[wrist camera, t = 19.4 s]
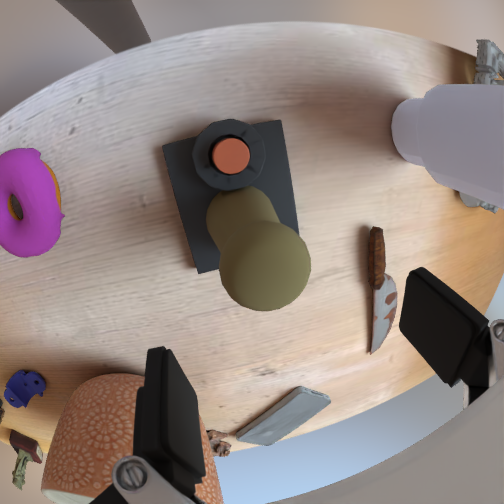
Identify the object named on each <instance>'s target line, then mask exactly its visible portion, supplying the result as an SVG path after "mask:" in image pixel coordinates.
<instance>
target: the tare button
mask: <svg viewBox="0 0 504 504" xmlns="http://www.w3.org/2000/svg"><path fill="white" fill-rule="evenodd" d="M249 158H250V154H249V150H248V147H247V146H246V145H245V144H244V143H243V142H242V141H240V140H238V139H234V138H226V139H223V140H221V141H219V142H218V143H217V144H216V145H215V147H214V148H213V151H212V159H213V162H214V164H215V165H216V167H217V168H218V169H219V170H220V171H222V172H224V173H227V174H235V173H238V172H240V171H242V170H243V169H244V168H245V167H246V166H247V164H248V162H249Z"/></svg>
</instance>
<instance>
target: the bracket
mask: <svg viewBox="0 0 504 504" xmlns="http://www.w3.org/2000/svg"><path fill="white" fill-rule="evenodd" d="M35 380H37V381H39V383H36V382H35ZM25 383H26V384H25ZM45 387H46V383H45V381H44V379H43V378H42V377H41V376H40V375H39V374H38V373H36V372H29V373H27V374H26V373H25V372H24V371H23V370H20V371H18V372H16V373H15V374H14V375H13V376H12V377H11V378H10V380H9V381H8V382H7V384H6V388H7V389H6V390H5V392H4V397H5V399H6V400H7V401H8V402H9V403H10V404H11V405H12V406H13V407H16V408H19V407H21V406H24V407H25V408H26V407H27V404H28V402H29V400H30V399H31V398H32V397H33V396H34V395H35V394H37V393H38V394H39V395H40V396H41V397H42V396H43V391H44V390H45ZM11 398H13V399H14V400H12V399H11Z"/></svg>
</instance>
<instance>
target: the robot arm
mask: <svg viewBox="0 0 504 504" xmlns="http://www.w3.org/2000/svg"><path fill="white" fill-rule="evenodd" d="M488 323H489V320H488V319H487V318H485V317H484V316H483V315H482V314H481V313H480V312H479V311H478V310H476V309H475V308H474V307H473V306H472V305H471V304H469V303H468V302H467V301H466V300H465V299H463V298H462V297H461V296H460V295H459V294H457V293H456V292H455V291H454V290H452V289H451V288H450V287H449V286H447V285H446V284H445V283H444V282H442V281H441V280H440V279H438V278H437V277H436V276H434V275H433V274H432V273H431V272H429V271H428V270H427V269H425V268H424V267H420V268H417V269H415V270H412V271H410V273H409V275H408V277H407V279H406V287H405V293H404V300H403V306H402V311H401V317H400V322H399V328H400V331H401V333H402V334H403V335H404V336H405V337H406V338H407V339H408V341H409V342H410V343H411V344H412V345H413V346H414V347H415V349H416V350H417V351H418V352H419V353H420V354H421V356H422V357H423V358H424V359H425V360H426V361H427V363H428V364H429V365H430V366H431V367H432V369H433V370H434V371H435V372H436V373H437V375H438V376H439V377H440V378H441V380H442V381H443V382H444V383H448V384H449V386H450V387H451V388H452V387H453V386H454V385H456V384H457V383H458V382H459V381H460V380H461V379H462V380H463V382H464V402H463V411H461V412H460V413H459V414H458V415H456V416H455V417H454V418H452V419H451V420H450V421H448V422H447V423H445V424H444V425H443V426H441V427H440V428H438V429H437V430H435V431H434V432H432V433H431V434H429V435H428V436H426V437H425V438H423V439H422V440H420V441H419V442H417V443H415V444H413V445H412V446H410V447H409V448H407V449H405V450H403V451H402V452H400V453H398V454H396V455H394V456H392V457H391V458H389V459H387V460H385V461H383V462H381V463H379V464H377V465H375V466H373V467H371V468H369V469H367V470H364V471H362V472H360V473H358V474H355V475H353V476H351V477H348V478H346V479H343V480H341V481H338V482H336V483H333V484H330V485H328V486H325V487H322V488H319V489H317V490H313V491H310V492H307V493H304V494H301V495H297V496H294V497H291V498H286V499H283V500H279V501H275V502H271V503H267V504H504V320H503V319H498V320H495V321H493V322H492V323H491V325H490V328H489V327H488V326H487V325H488ZM205 476H206V469H205V462H204V454H203V447H202V438H201V430H200V421H199V411H198V400H197V395H196V393H195V391H194V389H193V387H192V386H191V384H190V382H189V381H188V379H187V377H186V375H185V374H184V372H183V370H182V369H181V367H180V365H179V363H178V361H177V360H176V358H175V356H174V354H173V352H172V351H171V349H167V350H166V348H165V347H164V346H161V347H156V348H151V349H148V352H147V360H146V369H145V379H144V386H141V387H139V388H138V390H137V395H136V406H135V418H134V433H133V456H131V455H130V456H125V457H123V458H121V459H119V460H118V461H117V462H116V463H115V464H114V466H113V469H112V473H111V477H112V482H113V483H112V484H111V485H110V486H108V487H107V488H106V489H105V490H104V491H103V492H102V493H101V494H99V495H98V496H97V497H96V498H95V499H94V500H93V501H91V502H90V503H89V504H207V503H206V502H204V501H203V500H202V499H200V498H199V497H198V496H197V495H195V493H196V488H195V484H202V483H203V481H202V477H205Z"/></svg>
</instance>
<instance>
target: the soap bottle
mask: <svg viewBox="0 0 504 504" xmlns="http://www.w3.org/2000/svg"><path fill="white" fill-rule="evenodd" d="M391 129H392V137H393V141H394V144H395V146H396V148H397V150H398V152H399V153H400V154H401V156H402V157H403V158H404V159H405V160H406V161H408V162H411V163H413V164H416V165H419V166H423V167H425V169H426V170H427V171H428V172H429V174H430V175H431V176H432V177H433V179H434V180H435V181H436V182H437V183H439V184H441V185H444V186H446V187H449V188H451V189H454V190H457V191H460V192H462V193H465V194H467V195H470V196H473V197H475V198H478V199H480V200H483V201H485V202H487V203H490V204H492V205H494V206H497V207H499V208H501V209H503V210H504V86H502V85H484V84H443V85H437V86H436V87H434V88H432V89H431V90H429V91H428V92H426V94H425V96H424V98H415V99H407V100H405V101H404V102H402V103H400V104H399V105H398V106H397V108H396V110H395V112H394V114H393V118H392V125H391Z"/></svg>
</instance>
